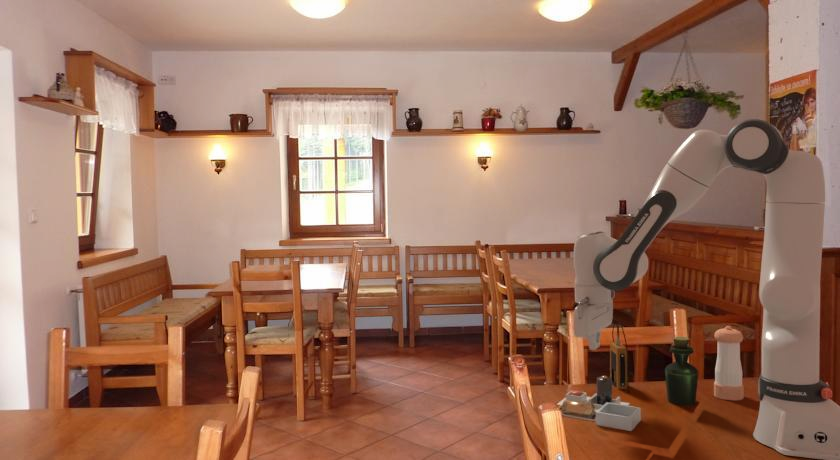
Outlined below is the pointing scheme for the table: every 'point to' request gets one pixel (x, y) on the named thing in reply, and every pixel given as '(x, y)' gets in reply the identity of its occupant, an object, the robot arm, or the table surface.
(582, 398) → the battery tester
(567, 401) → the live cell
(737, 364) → the pepper shaker
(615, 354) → the multimeter
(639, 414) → the grey square open box
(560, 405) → the trough
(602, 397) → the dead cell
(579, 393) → the button
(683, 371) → the potion bottle
